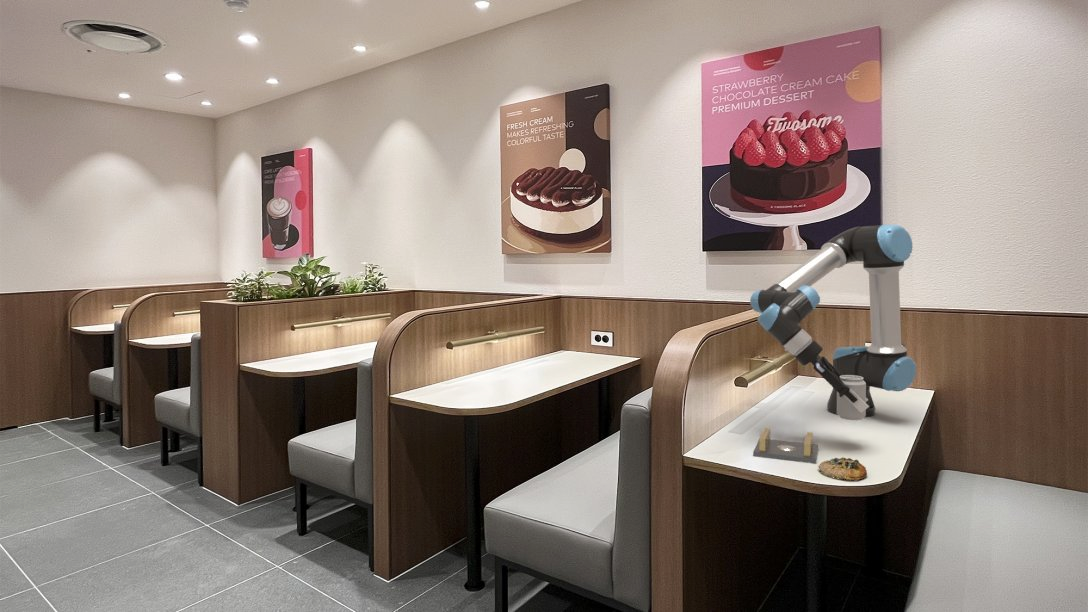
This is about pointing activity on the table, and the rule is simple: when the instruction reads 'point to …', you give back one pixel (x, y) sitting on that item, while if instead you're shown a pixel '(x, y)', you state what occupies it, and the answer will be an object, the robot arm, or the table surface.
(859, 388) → the can
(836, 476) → the bread roll
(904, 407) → the table surface
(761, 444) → the holder plate
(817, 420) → the table surface
